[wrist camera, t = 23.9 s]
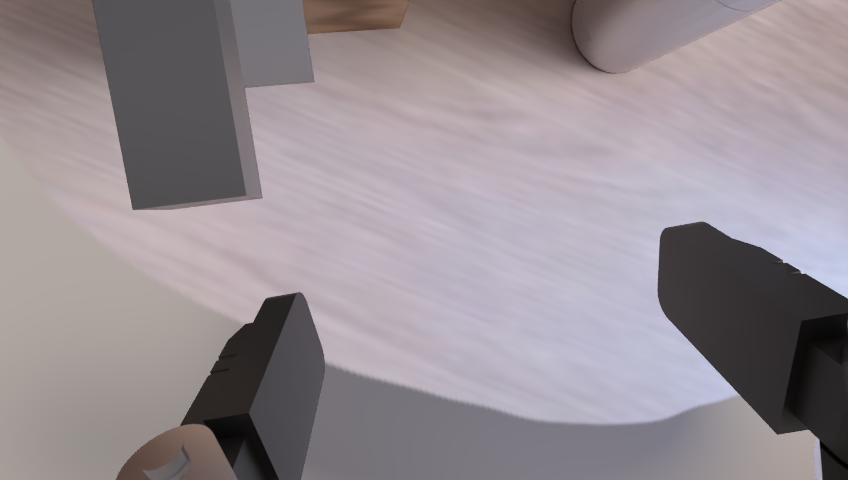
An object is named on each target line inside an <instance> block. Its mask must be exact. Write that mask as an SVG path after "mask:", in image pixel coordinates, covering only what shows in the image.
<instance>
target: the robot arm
mask: <svg viewBox="0 0 848 480" xmlns="http://www.w3.org/2000/svg"><path fill="white" fill-rule="evenodd" d="M779 1H781V0H576V2H575V5H574V9H573V14H572V29H573V35H574V39H575V41H576V44H577V46H578V48H579V50H580V51H581V53H582V55H583V56H584V57H585V58H586V59H587V60H588V61H589V62H590V63H591V64H592V65H594V66H595V67H597V68H598V69H601V70H603V71H606V72H611V73H623V72H627V71H630V70H633V69H635V68H637V67H639V66H642V65H644V64H646V63H648V62H650V61H652V60H654V59H657V58H659V57H661V56H663V55H666V54H668V53H670V52H672V51H674V50H676V49H678V48H681V47H683V46H685V45H687V44H689V43H691V42H693V41H696V40H698V39H700V38H702V37H704V36H706V35H708V34H711V33H713V32H715V31H717V30H719V29H721V28H723V27H726V26H728V25H730V24H732V23H734V22H736V21H738V20H740V19H743V18H745V17H747V16H749V15H751V14H753V13H755V12H758V11H760V10H762V9H764V8H766V7H768V6H770V5H772V4H774V3H776V2H779ZM658 298H659V302H660V305H661V308H662V310H663V312H664V314H665V315H666V317H667V318H668V319H669V320H670V321H671V322H672V323H673V324H674V325H675V326H676V327H677V329H678V330H679V331H680V332H681V333H682V334H683V335H684V336H685V337H686V338H687V339H688V340H689V341H690V342H691V343H692V344H693V346H694V347H695V348H696V349H697V350H698V351H699V352H700V353H701V354H702V355H703V356H704V357H705V358H706V359H707V360H708V361H709V363H710V364H711V365H712V366H713V367H714V368H715V369H716V370H717V371H718V372H719V373H720V374H721V375H722V376H723V377H724V378H725V380H726V381H727V382H728V383H729V384H730V385H731V386H732V387H733V388H734V389H735V390H736V391H737V392H738V393H739V394H740V395H741V397H742V398H743V399H744V400H745V401H746V402H747V403H748V404H749V405H750V406H751V407H752V408H753V409H754V410H755V411H756V412H757V413H758V415H759V416H760V417H761V418H762V419H763V420H764V421H765V422H766V423H767V424H768V425H769V426H770V427H771V428H772V429H773V430H774V432H775V433H776V434H784V433H790V432H796V431H802V430H810V431H811V432H812V433H813V434H814V435H815V436H816V437H817V438H816V442H815V446H814V450H813V459H814V473H815V480H848V299H847V298H846V297H844V296H842V295H840V294H839V293H837V292H835V291H834V290H832V289H830V288H829V287H827V286H825V285H824V284H822V283H820V282H818V281H817V280H815V279H813V278H812V277H810V276H808V275H807V274H801V272H800V270H798V269H796V268H795V267H793V266H791V265H790V264H788V263H783V260H781V259H780V258H778V257H776V256H775V255H773V254H771V253H769V252H768V251H766V250H764V249H763V248H761V247H757V246H754V245H751V244H748V243H745V242H742V241H739V240H735V239H732V238H730V237H729V236H727V235H725V234H724V233H722V232H721V231H719V230H717V229H716V228H714V227H712V226H711V225H709V224H708V223H705V222H696V223H691V224H685V225H680V226H674V227H668V228H665V229H664V230H663V232H662V234H661V237H660V250H659V271H658ZM324 372H325V362H324V354H323V349H322V346H321V343H320V340H319V337H318V334H317V331H316V328H315V325H314V322H313V319H312V316H311V313H310V310H309V307H308V304H307V301H306V299H305V297H304V295H303V294H302V293H300V292H298V293H292V294H287V295H281V296H275V297H270V298H266V299H265V301H264V302H263V304H262V306H261V308H260V310H259V312H258V314H257V316H256V318H255V320H254V322H253V323H248V324H245V325H244V326H243V327H242V328H241V329H240V330H239V331H238V332H237V333H235V334H234V335H233V336H232V337H231V338H230V339H229V340H228V342H227V343H226V345H225V347H224V349H223V351H222V352H221V354H220V356H219V361H216V363H215V365H214V367H213V368H212V370H211V372H210V373H211V375H210V376H208V377H207V379H206V381H205V382H204V384H203V386H202V388H201V389H200V391H199V393H198V395H197V396H196V399H195V400H194V402H193V403H192V405H191V407H190V409H189V411H188V412H187V414H186V416H185V418H184V420H183V421H182V423H181V425H180V426H179V427H176V428H173V429H170V430H168V431H166V432H164V433H162V434H160V435H158V436H156V437H155V438H153V439H152V440H150V441H148V442H147V443H146V444H145V445H143V446H142V447H141V448H140V449H138V450H137V451H136V452H135V453H134V454H133V455H132V456H131V457H130V458H129V459H128V460H127V462H126V463H125V464H124V466H123V467H122V468H121V470H120V472H119V473H118V476H117V478H116V480H301V476H302V472H303V467H304V463H305V458H306V454H307V450H308V445H309V441H310V436H311V432H312V427H313V423H314V418H315V413H316V410H317V405H318V400H319V396H320V391H321V387H322V382H323V378H324Z"/></svg>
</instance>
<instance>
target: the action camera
mask: <svg viewBox="0 0 848 480" xmlns="http://www.w3.org/2000/svg"><path fill="white" fill-rule="evenodd" d="M92 2H93V7H94V12H95V17H96V22H97V28H98V33H99V38H100V43H101V48H102V53H103V59H104V64H105V69H106V74H107V79H108V84H109V90H110V95H111V100H112V105H113V110H114V115H115V121H116V126H117V131H118V136H119V141H120V146H121V152H122V157H123V162H124V167H125V172H126V177H127V183H128V188H129V193H130V198H131V203H132V208H133V210H172V209H180V208H188V207H196V206H204V205H212V204H220V203H228V202H236V201H244V200H252V199H260V198H263V197H262V191H261V185H260V179H259V173H258V167H257V161H256V155H255V149H254V142H253V136H252V130H251V124H250V118H249V112H248V106H247V100H246V94H245V88H244V82H243V76H242V70H241V64H240V58H239V52H238V46H237V40H236V34H235V28H234V22H233V16H232V10H231V4H230V0H92Z"/></svg>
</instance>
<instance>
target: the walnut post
mask: <svg viewBox="0 0 848 480" xmlns="http://www.w3.org/2000/svg"><path fill="white" fill-rule="evenodd" d="M409 1H410V0H302V5H303V12H304V18H305V24H306V31H307V34H310V33H326V32H342V31H358V30H374V29H390V28H400V26H401V23H402V20H403V17H404V15H405V12H406V9H407V6H408V4H409Z"/></svg>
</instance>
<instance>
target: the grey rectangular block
mask: <svg viewBox="0 0 848 480" xmlns="http://www.w3.org/2000/svg"><path fill="white" fill-rule="evenodd" d="M230 4H231V10H232V16H233V22H234V28H235V34H236V40H237V46H238V52H239V58H240V64H241V70H242V76H243V82H244V88H246V87H258V86H270V85H283V84H295V83H307V82H314V77H313V70H312V64H311V57H310V50H309V44H308V37H307V31H306V24H305V18H304V12H303V5H302V0H230Z"/></svg>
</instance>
